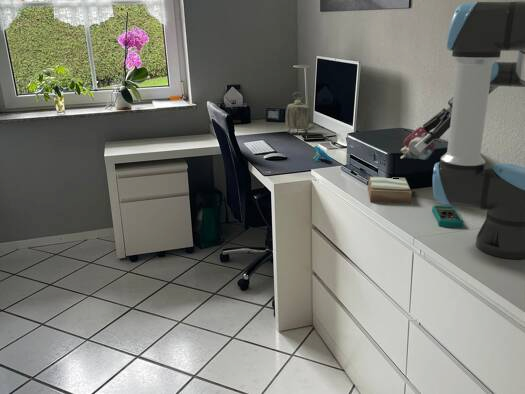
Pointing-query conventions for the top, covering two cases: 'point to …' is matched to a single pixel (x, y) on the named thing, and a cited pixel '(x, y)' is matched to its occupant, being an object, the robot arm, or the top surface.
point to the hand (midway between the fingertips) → (414, 146)
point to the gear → (321, 154)
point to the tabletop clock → (297, 115)
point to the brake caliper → (409, 145)
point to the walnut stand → (389, 190)
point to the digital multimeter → (447, 216)
